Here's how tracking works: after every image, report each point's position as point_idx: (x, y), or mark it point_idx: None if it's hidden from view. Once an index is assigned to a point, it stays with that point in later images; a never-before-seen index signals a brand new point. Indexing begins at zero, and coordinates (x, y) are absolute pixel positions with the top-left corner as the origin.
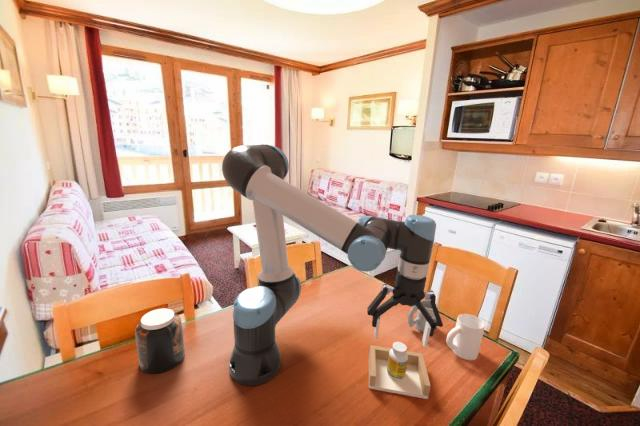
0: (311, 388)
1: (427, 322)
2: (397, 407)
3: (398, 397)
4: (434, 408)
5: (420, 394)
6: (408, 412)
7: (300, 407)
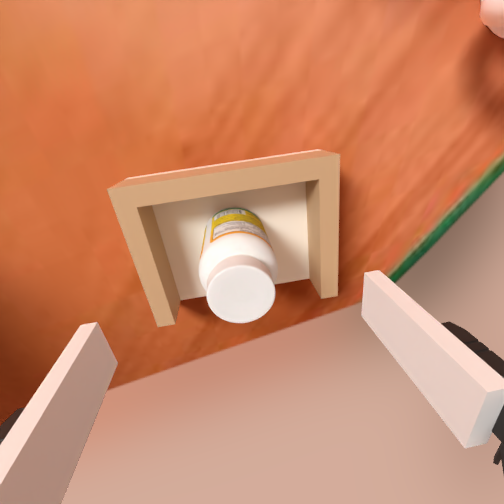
0: (26, 348)
1: (494, 399)
2: None
3: None
4: None
5: (303, 278)
6: (270, 318)
7: None
